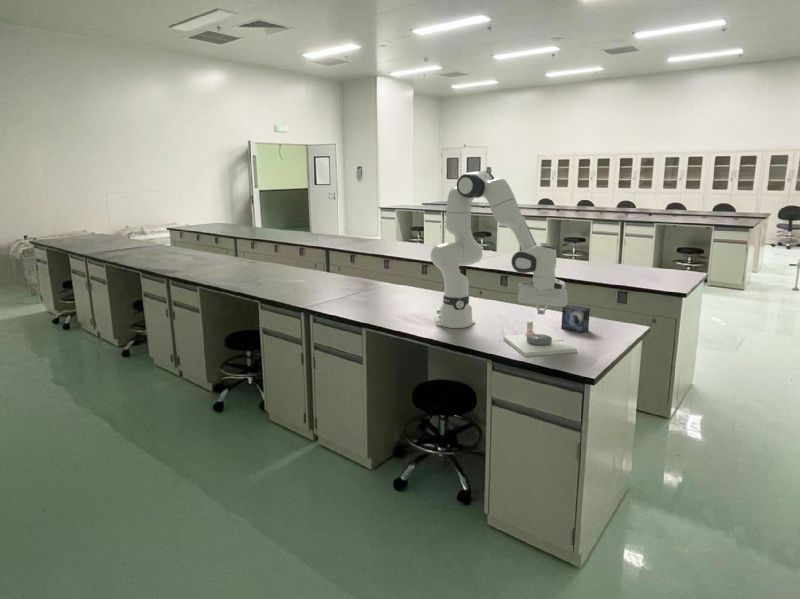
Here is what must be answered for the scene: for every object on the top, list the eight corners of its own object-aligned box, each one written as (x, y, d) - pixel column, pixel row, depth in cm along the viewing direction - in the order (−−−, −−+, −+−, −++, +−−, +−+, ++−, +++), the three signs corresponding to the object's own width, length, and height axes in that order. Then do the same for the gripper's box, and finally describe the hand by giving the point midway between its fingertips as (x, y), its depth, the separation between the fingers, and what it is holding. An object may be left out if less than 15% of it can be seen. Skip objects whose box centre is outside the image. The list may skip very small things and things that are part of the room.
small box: (560, 328, 237) (561, 306, 235) (567, 325, 242) (568, 304, 239) (582, 333, 230) (583, 310, 228) (589, 330, 234) (590, 307, 232)
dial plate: (503, 339, 223) (503, 336, 222) (551, 336, 227) (551, 332, 226) (524, 356, 202) (525, 352, 201) (577, 352, 205) (577, 348, 205)
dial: (555, 344, 210) (556, 330, 208) (532, 345, 208) (533, 332, 207) (539, 333, 225) (539, 320, 223) (517, 334, 223) (517, 321, 222)
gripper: (517, 282, 218) (515, 313, 221) (568, 286, 211) (565, 318, 215) (519, 279, 223) (517, 309, 227) (568, 282, 217) (566, 314, 221)
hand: (541, 314), depth 221 cm, fingers closed
